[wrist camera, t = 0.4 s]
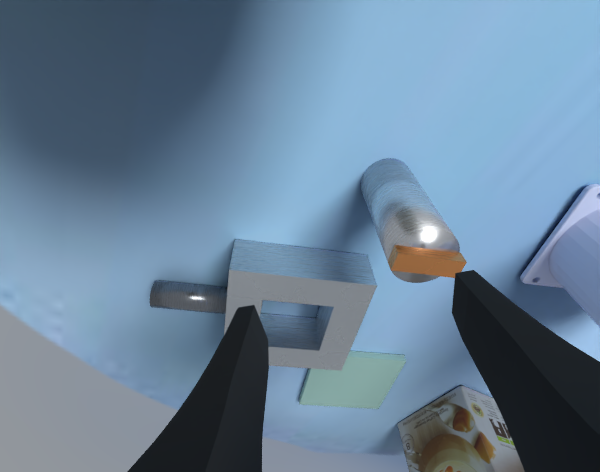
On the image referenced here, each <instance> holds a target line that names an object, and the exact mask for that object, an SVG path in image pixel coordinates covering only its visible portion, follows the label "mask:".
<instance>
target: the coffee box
mask: <svg viewBox="0 0 600 472" xmlns="http://www.w3.org/2000/svg"><path fill="white" fill-rule="evenodd" d="M398 428H399V432H400V437H401V440H402V444H403V448H404V452H405V456H406V460H407V464H408V468H409V472H525V471H524V468H523V466H522V463H521V461H520V458H519V456H518V453H517V451H516V448H515V446H514V443H513V441H512V438H511V436H510V434H509V431H508V429H507V427H506V424H505V422H504V419H503V417H502V415H501V412H500V410H499V408H498V406H497V404H496V402H495V400H494V398H491V397H489V396H486V395H484V394H482V393H479V392H477V391H474V390H472V389H470V388H467V387H465V386H459V387H457V388H455V389H454V390H452V391H450V392H449V393H447V394H445V395H444V396H442V397H440V398H439V399H437V400H435V401H434V402H432V403H431V404H429V405H427V406H425V407H424V408H422V409H420V410H419V411H417V412H415V413H414V414H412V415H410V416H409V417H407V418H406V419H404V420H402V421H401V422H399V423H398Z"/></svg>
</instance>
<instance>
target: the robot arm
mask: <svg viewBox="0 0 600 472" xmlns="http://www.w3.org/2000/svg"><path fill="white" fill-rule="evenodd" d="M599 193H600V185H598V184H591V185H589V186H587V187H585V188H584V189H583V191H582V192H581V193H580V195H579V196H578V198H577V199H576V200H575V202H574V203H573V204H572V206H571V207H570V209H569V210H568V211H567V213H566V214H565V215H564V217H563V218H562V220H561V221H560V222H559V224H558V225H557V226H556V228H555V229H554V231H553V232H552V233H551V235H550V236H549V237H548V239H547V240H546V242H545V243H544V244H543V246H542V247H541V248H540V250H539V251H538V253H537V254H536V255H535V257H534V258H533V259H532V261H531V262H530V264H529V265H528V266H527V268H526V269H525V270H524V272H523V273H522V275H521V276H520V279H521V281H522V282H523V283H525V284H532V285H540V286H549V287H558V288H564V289H565V290H566V291H567V292H568V293H569V294H570V296H571V297H572V298H573V299H574V300H575V301H576V302H577V303H578V304H579V305H580V306H581V308H582V309H583V310H584V311H585V312H586V313H587V314H588V315H589V316H590V317H591V318H592V320H593V321H594V322H595V323H596V324H597V325H598V326H599V327H600V194H599ZM598 194H599V195H598ZM452 314H453V317H454V319H455V322H456V325H457V327H458V330H459V332H460V335H461V337H462V340H463V342H464V344H465V346H466V347H467V349H468V351H469V353H470V355H471V357H472V359H473V361H474V363H475V364H476V366H477V368H478V370H479V372H480V374H481V376H482V377H483V379H484V381H485V383H486V385H487V387H488V389H489V391H490V392H491V394H492V396H493V398H494V400H495V402H496V404H497V406H498V408H499V410H500V412H501V415H502V417H503V419H504V422H505V424H506V427H507V429H508V431H509V434H510V436H511V438H512V441H513V443H514V446H515V448H516V451H517V453H518V456H519V458H520V461H521V463H522V466H523V468H524V471H525V472H600V362H599V361H597V360H596V359H594V358H592V357H591V356H589V355H587V354H586V353H584V352H583V351H581V350H579V349H578V348H576V347H574V346H573V345H571V344H570V343H568V342H567V341H565V340H564V339H562V338H561V337H559V336H558V335H556V334H555V333H553V332H552V331H551V330H549V329H548V328H546V327H545V326H543V325H542V324H541V323H539V322H538V321H537V320H535V319H534V318H533V317H531V316H530V315H529V314H527V313H526V312H525V311H523V310H522V309H521V308H519V307H518V306H517V305H516V304H514V303H513V302H512V301H511V300H509V299H508V298H507V297H506V296H504V295H503V294H502V293H501V292H499V291H498V290H497V289H496V288H495V287H493V286H492V285H491V284H490V283H489V282H487V281H486V280H485V279H484V278H483V277H481V276H480V275H479V274H478V273H477V272H475V271H474V270H471V271H465V272H459V273H455V284H454V295H453V307H452ZM268 369H269V350H268V338H267V335H266V333H265V330H264V328H263V325H262V323H261V320H260V318H259V315H258V313H257V310H256V308H255V305H250V306H244V307H238V309H237V310H236V312H235V314H234V316H233V318H232V320H231V322H230V325H229V327H228V329H227V331H226V333H225V335H224V337H223V339H222V341H221V342H220V344H219V346H218V348H217V350H216V352H215V354H214V355H213V357H212V359H211V361H210V363H209V364H208V366H207V368H206V369H205V371H204V373H203V374H202V376H201V377H200V379H199V381H198V382H197V384H196V386H195V387H194V389H193V390H192V392H191V393H190V395H189V396H188V398H187V399H186V401H185V402H184V403H183V405H182V406H181V408H180V409H179V410H178V412H177V413H176V415H175V416H174V417H173V418H172V420H171V421H170V422H169V424H168V425H167V426H166V427H165V429H164V430H163V431H162V433H161V434H160V435H159V436H158V438H157V439H156V440H155V441H154V443H152V445H151V446H150V447H149V448H148V449H147V450H146V451H145V453H144V454H143V455H142V456H141V457H140V458H139V459H138V461H137V462H136V463H135V464H134V465H133V466H132V467H131V468H130V469H129V471H128V472H262V433H263V421H264V411H265V401H266V391H267V380H268Z"/></svg>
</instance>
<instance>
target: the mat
mask: <svg viewBox="0 0 600 472" xmlns="http://www.w3.org/2000/svg"><path fill="white" fill-rule="evenodd" d="M405 363H406V359H405V356H404V355H396V354H383V353H371V352H358V351H350V352H349V354H348V356H347V359H346V361H345V364H344V366H343V368H342V371H339V370H325V369H311V368H309V370H308V373H307V376H306V379H305V382H304V385H303V388H302V391H301V394H300V397H299V404H301V405H318V406H335V407H352V408H369V409H379V407H380V405H381V404H382V402H383V400H384V398H385V397H386V395H387V393H388V392H389V390H390V388H391V386H392V385H393V383H394V381H395V380H396V378H397V376H398V374H399V373H400V371H401V369H402V368H403V366H404V364H405Z"/></svg>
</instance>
